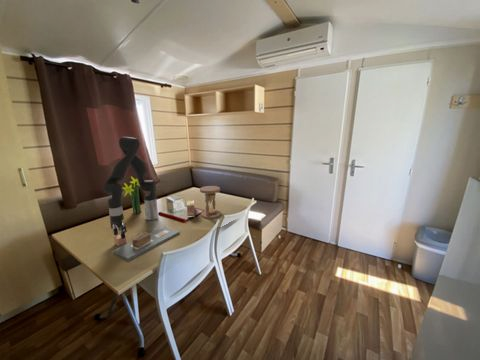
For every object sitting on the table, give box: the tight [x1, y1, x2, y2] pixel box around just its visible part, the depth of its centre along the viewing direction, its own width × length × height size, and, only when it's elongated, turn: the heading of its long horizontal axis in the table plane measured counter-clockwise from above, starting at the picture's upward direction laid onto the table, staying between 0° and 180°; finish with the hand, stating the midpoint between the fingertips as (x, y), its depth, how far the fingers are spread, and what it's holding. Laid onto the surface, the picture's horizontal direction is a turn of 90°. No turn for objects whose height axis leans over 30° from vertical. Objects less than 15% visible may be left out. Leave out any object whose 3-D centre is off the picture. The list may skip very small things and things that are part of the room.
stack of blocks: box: [186, 200, 196, 218], centre depth 182 cm, size 21×6×12 cm, turn 14°
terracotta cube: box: [113, 234, 127, 247], centre depth 134 cm, size 5×5×5 cm
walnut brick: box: [131, 231, 151, 248], centre depth 131 cm, size 5×10×5 cm, turn 161°
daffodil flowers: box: [121, 175, 142, 216], centre depth 180 cm, size 17×15×35 cm
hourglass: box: [199, 185, 222, 220], centre depth 177 cm, size 18×18×25 cm
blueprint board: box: [113, 226, 181, 262], centre depth 136 cm, size 16×38×2 cm, turn 148°
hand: (119, 236), depth 133 cm, fingers open, 8 cm apart
